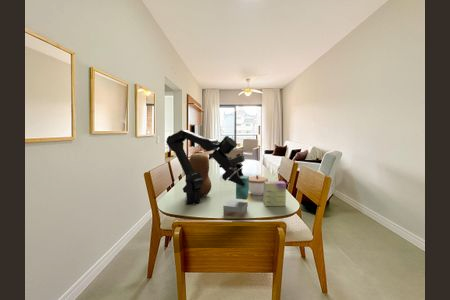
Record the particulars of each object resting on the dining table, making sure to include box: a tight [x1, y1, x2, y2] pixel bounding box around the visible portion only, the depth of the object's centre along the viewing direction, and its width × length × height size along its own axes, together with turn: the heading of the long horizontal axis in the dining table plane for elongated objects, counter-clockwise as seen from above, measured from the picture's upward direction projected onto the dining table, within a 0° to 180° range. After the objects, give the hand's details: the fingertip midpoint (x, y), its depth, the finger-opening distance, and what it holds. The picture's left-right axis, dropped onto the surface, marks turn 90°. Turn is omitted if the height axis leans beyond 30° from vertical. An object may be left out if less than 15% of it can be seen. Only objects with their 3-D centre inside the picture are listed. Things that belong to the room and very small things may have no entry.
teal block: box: [235, 175, 250, 201], centre depth 110 cm, size 5×5×10 cm
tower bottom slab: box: [222, 207, 248, 218], centre depth 109 cm, size 9×9×2 cm
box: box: [263, 180, 287, 207], centre depth 120 cm, size 10×6×12 cm, turn 92°
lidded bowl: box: [249, 175, 269, 196], centre depth 140 cm, size 13×13×11 cm
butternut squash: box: [188, 153, 212, 198], centre depth 135 cm, size 14×13×25 cm
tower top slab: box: [222, 199, 249, 213], centre depth 109 cm, size 9×9×2 cm
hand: (245, 184), depth 110 cm, fingers closed on teal block, 5 cm apart
